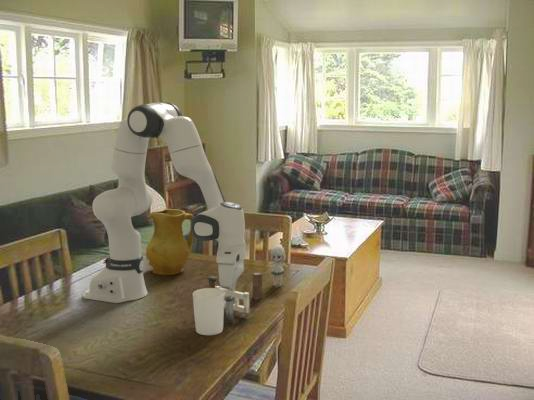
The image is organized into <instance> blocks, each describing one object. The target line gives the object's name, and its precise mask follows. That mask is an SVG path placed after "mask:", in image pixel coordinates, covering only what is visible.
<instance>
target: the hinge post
mask: <svg viewBox="0 0 534 400" xmlns="http://www.w3.org/2000/svg"><path fill="white" fill-rule="evenodd" d="M217 278H218V277H217V276H208V277H207V281H208V288H215V286H217Z"/></svg>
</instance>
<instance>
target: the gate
mask: <svg viewBox="0 0 534 400" xmlns="http://www.w3.org/2000/svg"><path fill="white" fill-rule="evenodd" d="M215 288H217V289H221V290H223V291H224V292H225V297H227V296H232V297H234V303H233V311H237V312H240V313H244V314H249V313H250V293H249V292H246V291H245V292H241V291H237V290H236V291H233V290H229V289H228V288H226V287H221V286H220V285H216V286H215ZM240 300H243V305H241V304H240ZM224 309H226V300H225V299H224Z"/></svg>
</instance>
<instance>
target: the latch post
mask: <svg viewBox="0 0 534 400" xmlns="http://www.w3.org/2000/svg"><path fill="white" fill-rule="evenodd" d="M225 300H226V308H225V323H227V324H232V323H234V310H233V304H234V301H235V298H234V297H232V296H227V297H225V298H224V301H225Z"/></svg>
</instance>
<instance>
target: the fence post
mask: <svg viewBox="0 0 534 400" xmlns="http://www.w3.org/2000/svg"><path fill="white" fill-rule="evenodd" d="M252 299H254V300H256V301H257V300H261V299H263V273H261V272H259V271H258V272H254V273H252Z"/></svg>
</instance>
